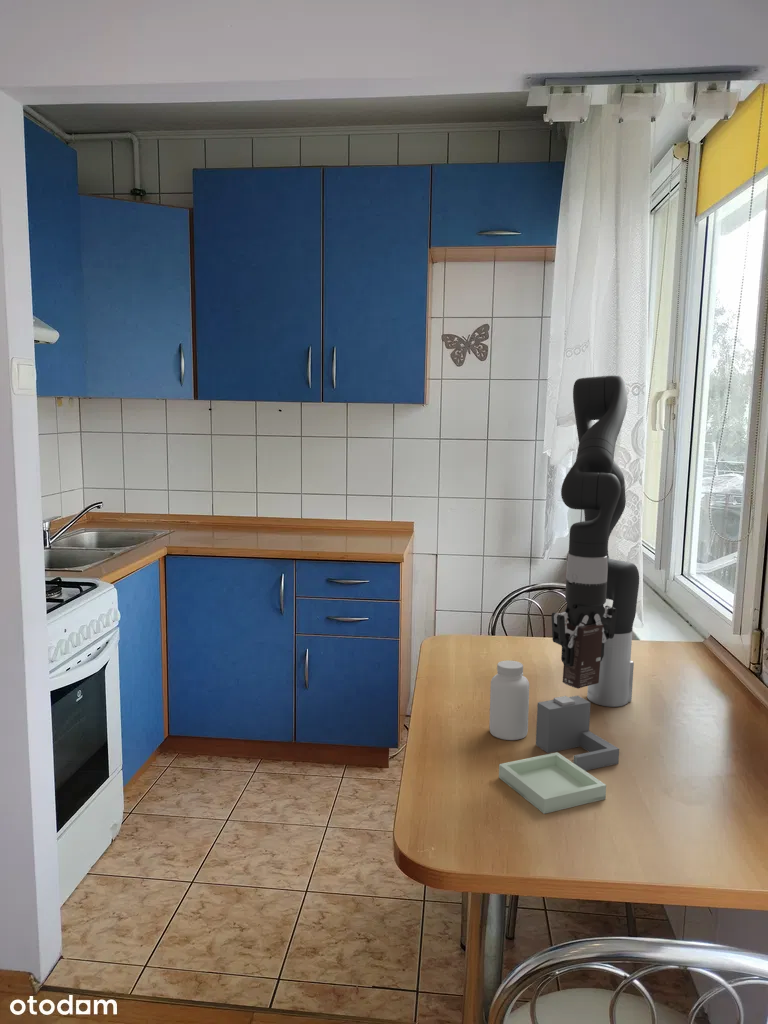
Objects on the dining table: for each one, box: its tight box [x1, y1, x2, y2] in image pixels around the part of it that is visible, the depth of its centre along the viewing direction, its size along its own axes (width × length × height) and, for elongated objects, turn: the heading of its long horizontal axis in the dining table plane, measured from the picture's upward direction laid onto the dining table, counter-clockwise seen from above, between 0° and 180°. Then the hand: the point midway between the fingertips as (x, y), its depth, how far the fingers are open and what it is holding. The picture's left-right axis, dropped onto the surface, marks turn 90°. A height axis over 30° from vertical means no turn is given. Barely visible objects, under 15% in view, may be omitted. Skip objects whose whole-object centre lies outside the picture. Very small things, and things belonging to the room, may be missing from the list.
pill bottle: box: [489, 660, 530, 741], centre depth 164 cm, size 8×8×15 cm
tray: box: [498, 751, 607, 815], centre depth 141 cm, size 13×14×3 cm
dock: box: [535, 695, 620, 772], centre depth 155 cm, size 10×13×10 cm
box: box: [562, 623, 603, 690], centre depth 151 cm, size 6×4×12 cm
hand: (582, 662), depth 151 cm, fingers closed on box, 6 cm apart
